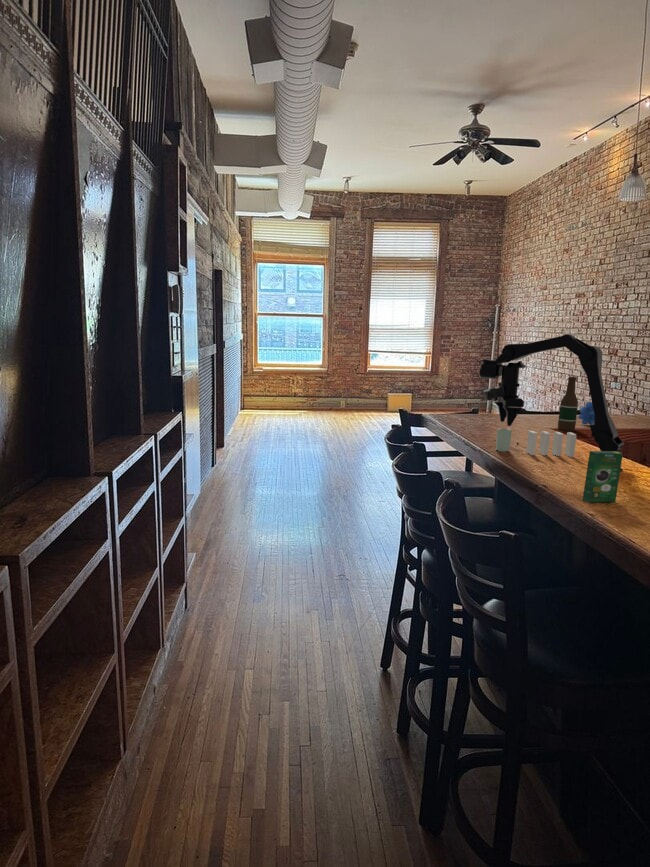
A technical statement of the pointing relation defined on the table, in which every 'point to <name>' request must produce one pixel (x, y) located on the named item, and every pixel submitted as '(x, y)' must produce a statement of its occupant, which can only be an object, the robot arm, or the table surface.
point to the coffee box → (602, 476)
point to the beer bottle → (568, 407)
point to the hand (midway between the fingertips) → (505, 423)
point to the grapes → (587, 414)
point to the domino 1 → (503, 439)
